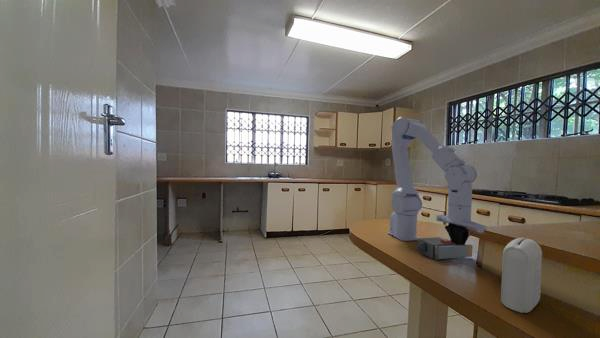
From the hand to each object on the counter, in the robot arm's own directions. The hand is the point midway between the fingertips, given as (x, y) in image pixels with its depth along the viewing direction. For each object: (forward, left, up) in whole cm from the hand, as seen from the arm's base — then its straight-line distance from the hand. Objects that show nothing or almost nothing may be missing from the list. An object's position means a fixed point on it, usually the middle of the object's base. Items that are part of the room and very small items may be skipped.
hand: (457, 250), depth 68 cm
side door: (+2, -4, -1) cm, 4 cm away
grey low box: (-2, -6, -2) cm, 6 cm away
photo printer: (+22, -10, -2) cm, 24 cm away
